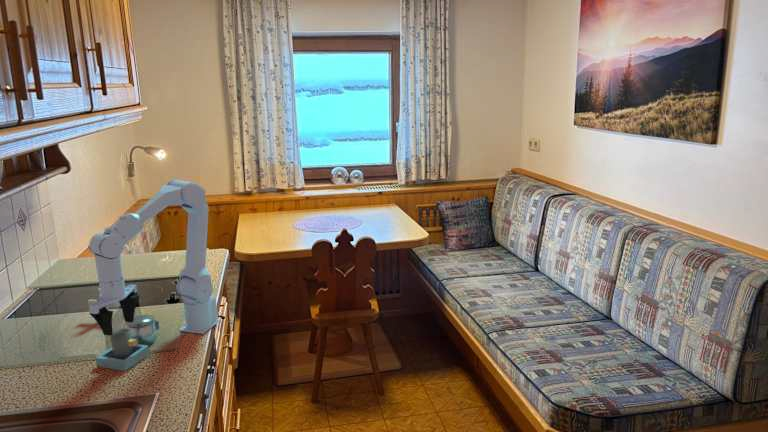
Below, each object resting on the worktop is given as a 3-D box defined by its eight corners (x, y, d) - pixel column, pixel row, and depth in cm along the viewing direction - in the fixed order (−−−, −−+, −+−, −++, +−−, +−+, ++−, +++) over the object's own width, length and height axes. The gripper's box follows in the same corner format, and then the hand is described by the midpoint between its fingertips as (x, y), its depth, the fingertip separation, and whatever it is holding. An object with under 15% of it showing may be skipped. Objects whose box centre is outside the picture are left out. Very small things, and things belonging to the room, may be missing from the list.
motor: (145, 332, 164) (142, 311, 162) (166, 334, 162) (163, 313, 160) (118, 349, 154) (115, 327, 152) (140, 352, 152) (137, 330, 150)
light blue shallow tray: (122, 349, 154) (120, 341, 153) (149, 354, 151) (148, 345, 150) (97, 366, 145) (95, 357, 145) (125, 371, 143) (124, 362, 142)
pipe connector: (109, 326, 168) (104, 295, 165) (80, 324, 170) (75, 293, 167) (130, 312, 177) (126, 283, 175) (103, 310, 179) (98, 281, 177)
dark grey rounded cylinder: (122, 354, 151) (118, 327, 149) (143, 357, 150) (139, 329, 147) (110, 363, 146) (105, 336, 144) (132, 366, 145) (127, 338, 143)
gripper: (118, 268, 150) (126, 314, 154) (75, 288, 137) (84, 338, 140) (140, 270, 148) (147, 317, 152) (99, 291, 135) (107, 342, 138)
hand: (119, 328), depth 146 cm, fingers open, 7 cm apart
